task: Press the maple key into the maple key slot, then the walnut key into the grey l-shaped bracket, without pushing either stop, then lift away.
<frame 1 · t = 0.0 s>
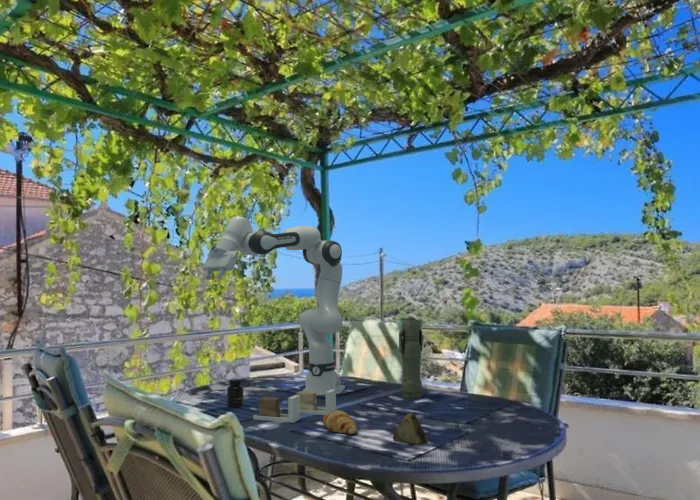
hand: (212, 279, 238), 54 cm above the table, tool tilted 30°, fingers open, 8 cm apart
maple key: (306, 402, 230), point 5 cm above the table, slide at 0.0 cm
croissant: (338, 430, 207), on the table
grey l-shaped bracket: (276, 421, 219), on the table
walnut key: (269, 408, 220), point 5 cm above the table, slide at 0.0 cm
supplement bottle: (235, 408, 243), on the table
thermos: (411, 397, 260), on the table
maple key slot: (313, 414, 229), on the table
rock: (409, 442, 190), on the table
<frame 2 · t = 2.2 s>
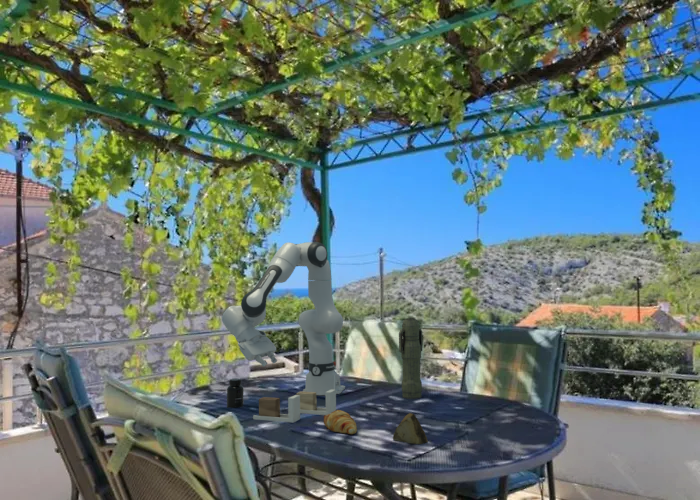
hand: (270, 363, 236), 19 cm above the table, tool tilted 45°, fingers open, 7 cm apart
nothing on the table moved.
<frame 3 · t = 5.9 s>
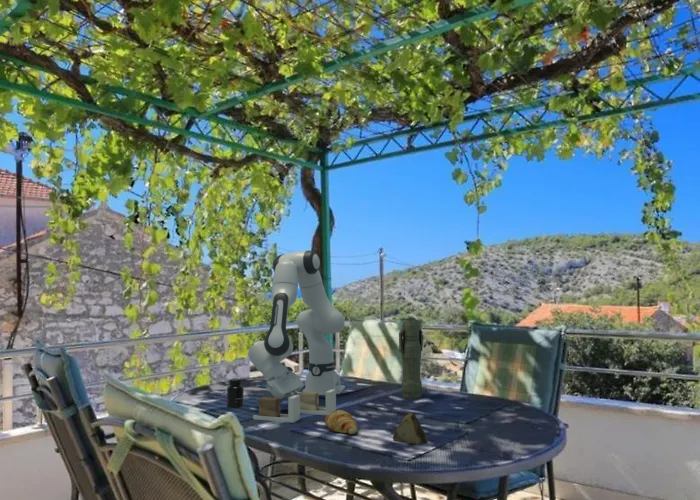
hand: (299, 401, 231), 5 cm above the table, tool tilted 45°, fingers closed, pressing on maple key
maple key: (308, 402, 230), point 5 cm above the table, slide at 0.9 cm, touching gripper
everything else where it was.
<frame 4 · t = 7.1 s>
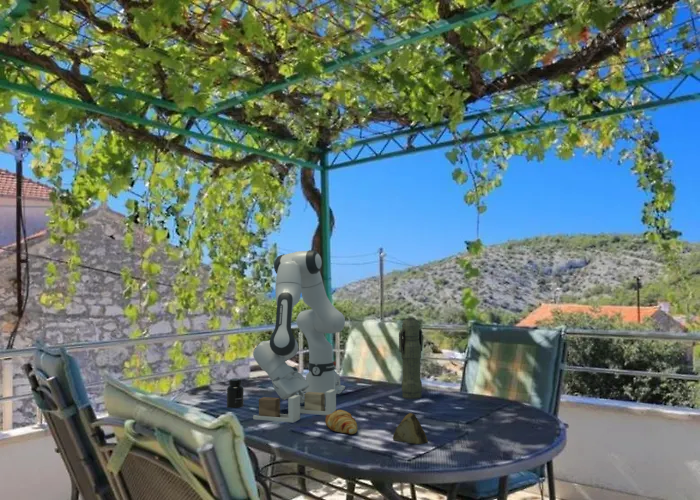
hand: (304, 401, 230), 5 cm above the table, tool tilted 45°, fingers closed
maple key: (314, 402, 229), point 5 cm above the table, slide at 3.5 cm
everything else where it was.
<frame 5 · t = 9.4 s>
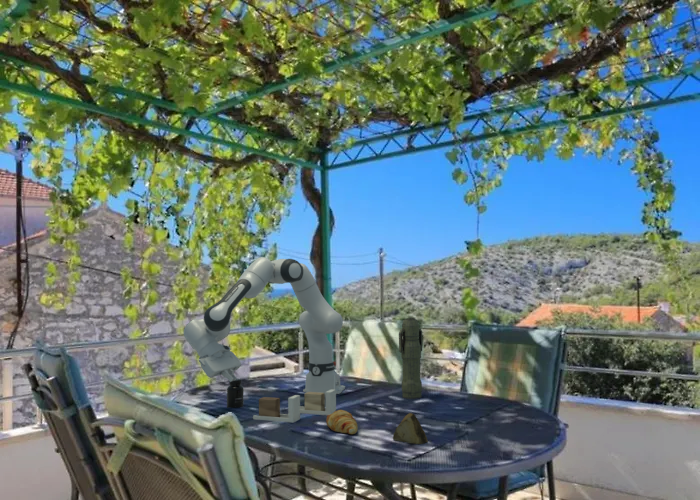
hand: (233, 380, 226), 15 cm above the table, tool tilted 45°, fingers closed
nothing on the table moved.
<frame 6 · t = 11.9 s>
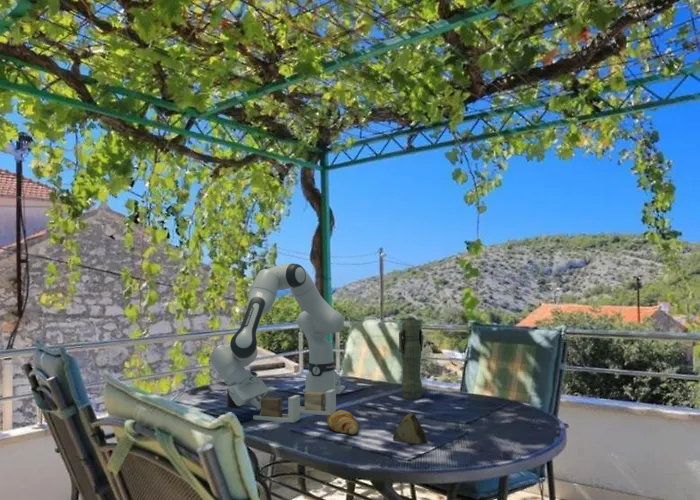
hand: (262, 407, 221), 5 cm above the table, tool tilted 45°, fingers closed, pressing on walnut key
walnut key: (271, 408, 220), point 5 cm above the table, slide at 0.9 cm, touching gripper
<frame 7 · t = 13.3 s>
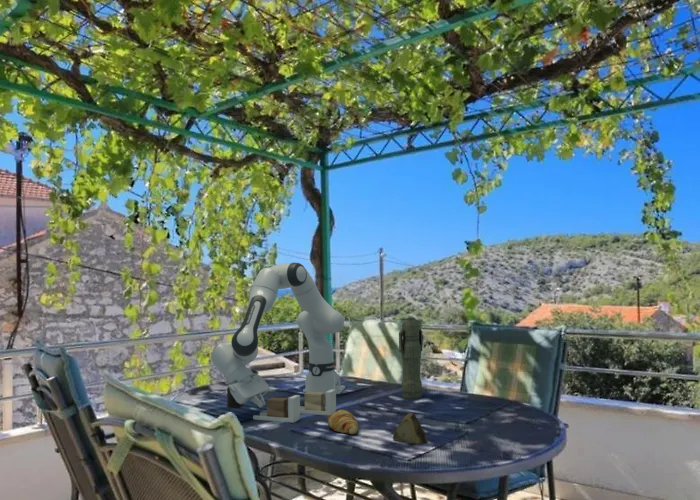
hand: (263, 405, 221), 6 cm above the table, tool tilted 45°, fingers closed
walnut key: (277, 409, 219), point 5 cm above the table, slide at 3.4 cm
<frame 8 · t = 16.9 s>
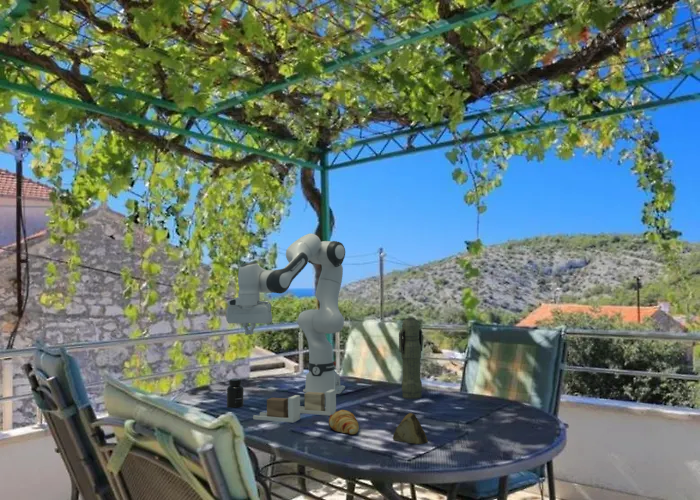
hand: (249, 334, 241), 31 cm above the table, tool pointing down, fingers closed
at the end: maple key slide at 3.5 cm; walnut key slide at 3.4 cm; walnut key touching nothing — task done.
